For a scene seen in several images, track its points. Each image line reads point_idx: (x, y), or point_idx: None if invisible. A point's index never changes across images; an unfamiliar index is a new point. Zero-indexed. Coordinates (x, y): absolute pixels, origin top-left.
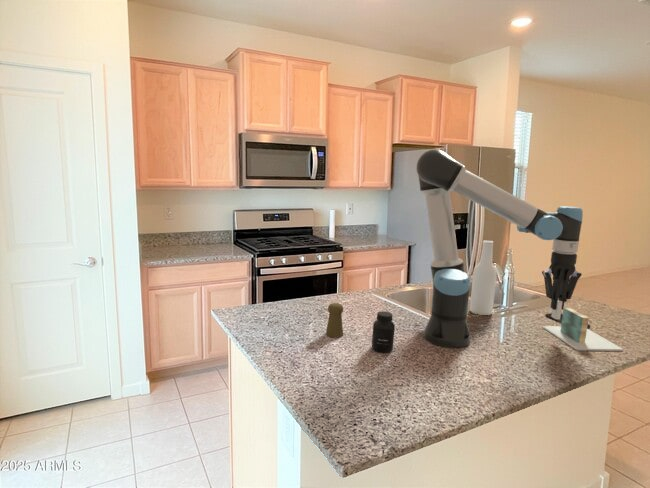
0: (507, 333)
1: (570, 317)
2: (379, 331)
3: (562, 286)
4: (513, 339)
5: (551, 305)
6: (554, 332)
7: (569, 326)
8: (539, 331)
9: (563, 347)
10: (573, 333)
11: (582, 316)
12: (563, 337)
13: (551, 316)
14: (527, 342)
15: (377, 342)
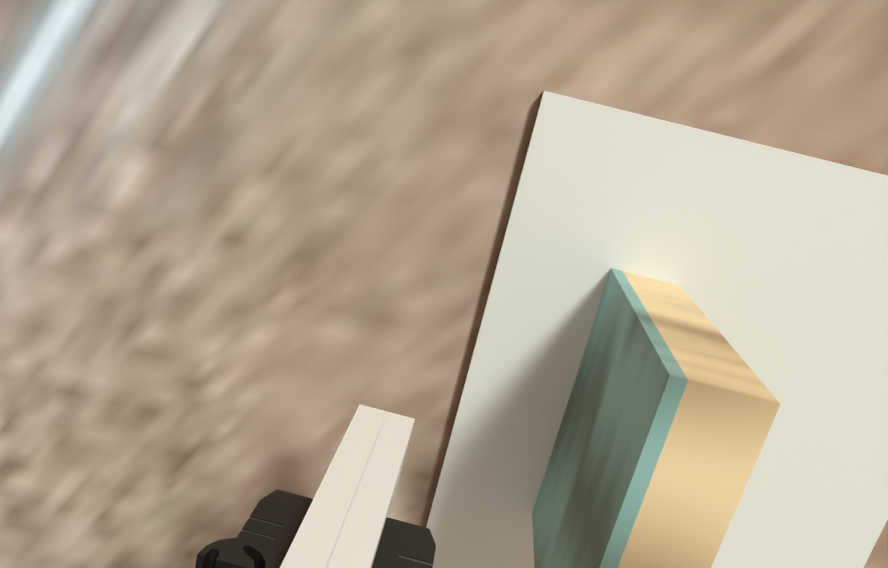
0: (47, 153)
1: (596, 493)
2: None
3: None
4: (26, 288)
5: (246, 533)
6: (516, 279)
7: (584, 434)
8: (418, 179)
9: None
10: (556, 479)
11: None
12: (498, 398)
13: (358, 408)
14: (113, 369)
15: None
